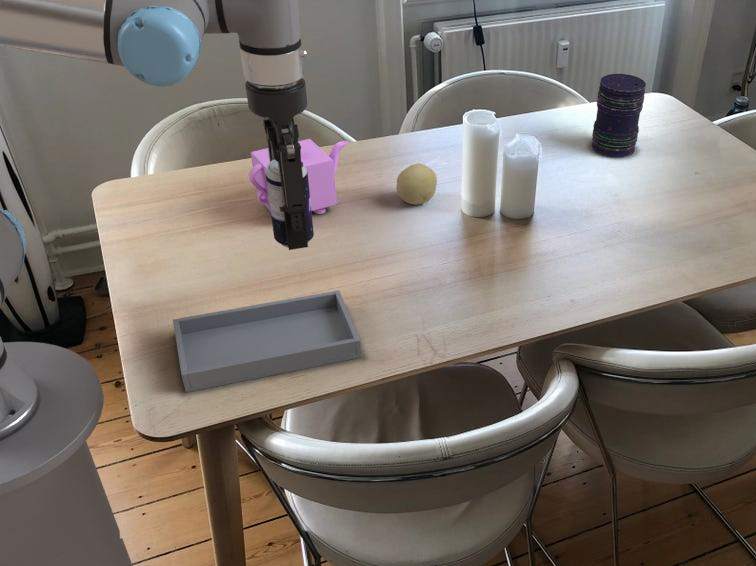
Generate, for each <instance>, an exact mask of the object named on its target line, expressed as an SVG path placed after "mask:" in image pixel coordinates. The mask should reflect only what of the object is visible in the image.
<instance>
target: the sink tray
mask: <svg viewBox="0 0 756 566" xmlns="http://www.w3.org/2000/svg"><path fill="white" fill-rule="evenodd" d="M172 323H173V324H172V325H173V331H174V336H175V342H176V343H175V344H176V349H177V354H178V356H177V357H178V362H179V368H180V374H181V375H180V376H181V379H182V383H183V388H184V391H185V393H192V392H195V391H200V390H205V389H206V390H207V389H211V388H215V387H220V386H226V385H230V384H236V383H241V382H245V381H250V380H255V379H256V380H257V379H261V378H266V377H270V376H275V375H280V374H287V373H291V372H295V371H300V370H306V369H311V368H314V367H315V368H316V367H320V366H326V365H330V364H336V363H340V362H344V361H345V362H346V361H351V360H355V359H360V358H362V344H361V338H360V336H359V334H358V331H357V329H356V327H355V324H354V321H353V319H352V317H351V315H350V312H349V310H348V308H347V305H346V303H345V300H344V297H343V296H342V294H341V291H340V290H334V291H328V292H322V293H321V292H320V293H316V294H311V295H305V296H299V297H294V298H288V299H282V300H276V301H272V302H265V303H258V304H254V305H253V304H252V305H249V306H242V307H237V308H231V309H224V310H219V311H213V312H207V313H202V314H196V315H195V314H194V315H190V316H184V317H179V318H173V319H172Z"/></svg>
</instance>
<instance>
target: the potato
mask: <svg viewBox="0 0 756 566" xmlns="http://www.w3.org/2000/svg"><path fill="white" fill-rule="evenodd" d="M437 185H438V177H437V174H436V172H435V171H434V169H432V168H430V167H429V166H427V165H426V164H423V163H414V164H411V165H409V166H408V167H406V168H404V169H403V170H402V171H401V172H400V173H399V174H398V175H397V178H396V188H395V189H396V192H397V194H398V196H399V197H400V199H401V200H403V201H404V202H406V203H408V204H410V205H421V204H425V203H427V202H429V201H430V200H431V199H433V198H434V196H435V194H436V190H437Z"/></svg>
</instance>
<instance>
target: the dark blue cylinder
mask: <svg viewBox="0 0 756 566" xmlns="http://www.w3.org/2000/svg"><path fill="white" fill-rule="evenodd" d="M646 87H647V83H646V81H645V80H644V79H642V78H640V77H638V76H635V75H632V74H627V73H610V74H606V75H604V76H602V77H601V78H600V79H599V87H598V88H599V89H598V91H597V100H596V107H597V110H596V117H595V120H594V123H593V129H592V135H591V136H592V137H591V138H592V142H591V146H590V147H591V149H592V151H593V152H595V153H596V154H597V155H600V156H602V157H607V158H612V159H623V158H628V157H630V156H632V155H633V154H635V150H636V144H637V141H638V138H639V132H640V127H639V121H640V116H641V113H642V111H643V108H644V105H643V104H644V102H645V93H646Z"/></svg>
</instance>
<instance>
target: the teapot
mask: <svg viewBox="0 0 756 566" xmlns="http://www.w3.org/2000/svg"><path fill="white" fill-rule="evenodd" d="M298 142H299V143H300V145H301V161H302V162H303V163H304V167H305V168H306V170H307V172H308V181H309V191H310V201H311V211H312V213H313V214H316V215H321V214H324V213H326V212H327V209H326V208H329V207H332V206H337V205H338V199H337V187H336V174H337V170H338V165H339V159H340V158H339V157H340V154H341V151H342V150H343V149H344V147H345V146H347V145H348V144H349V143H350V140H342V141H338V142H336V143H335V144H334V145H333V147H332V148H331V150H330V153H329V155H328V154H327V153H326V152H325V151H324V150H323V149H322V148H321V147H320V146H318V145H317V144H316V143H315V142H314V141H313V140H312V139H311V138H307V139H302V140H298ZM250 157H251V164H252V168H251V169H250V171H249V172H248V179H249V182H250V183H251V185H252V186H253V187H254V188H255V191H256V200H257V202H258V203H259V204H260V205H264V207H266V208H267V209H268V210H269V211H270V204H269V197H268V189H267V182H266V172H267V169H268V168H267V166H268V164H269V162H270V159H269V151H268V147H266V148H262V149H259V150H254V151H251V152H250Z"/></svg>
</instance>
